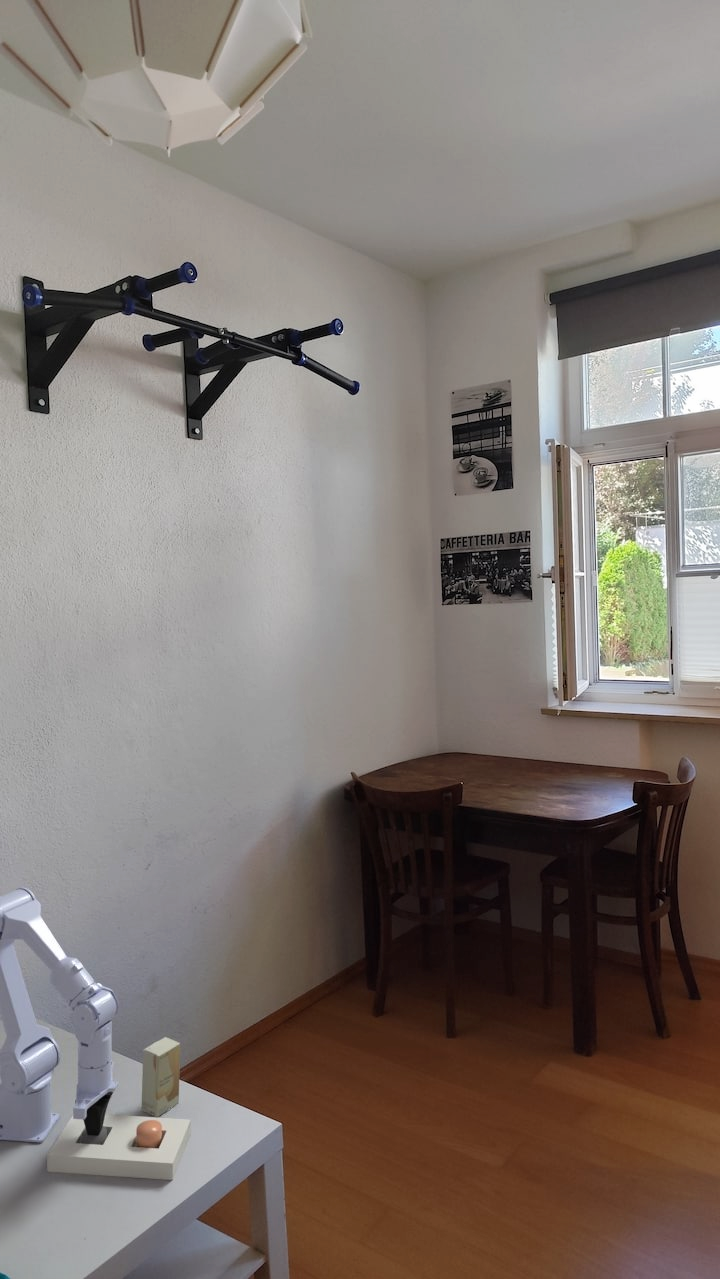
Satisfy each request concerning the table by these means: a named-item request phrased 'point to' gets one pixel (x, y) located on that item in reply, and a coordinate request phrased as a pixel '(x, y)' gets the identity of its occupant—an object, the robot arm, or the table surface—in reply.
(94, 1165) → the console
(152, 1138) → the terracotta button
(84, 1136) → the grey rounded piece
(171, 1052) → the skincare box
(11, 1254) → the table surface
